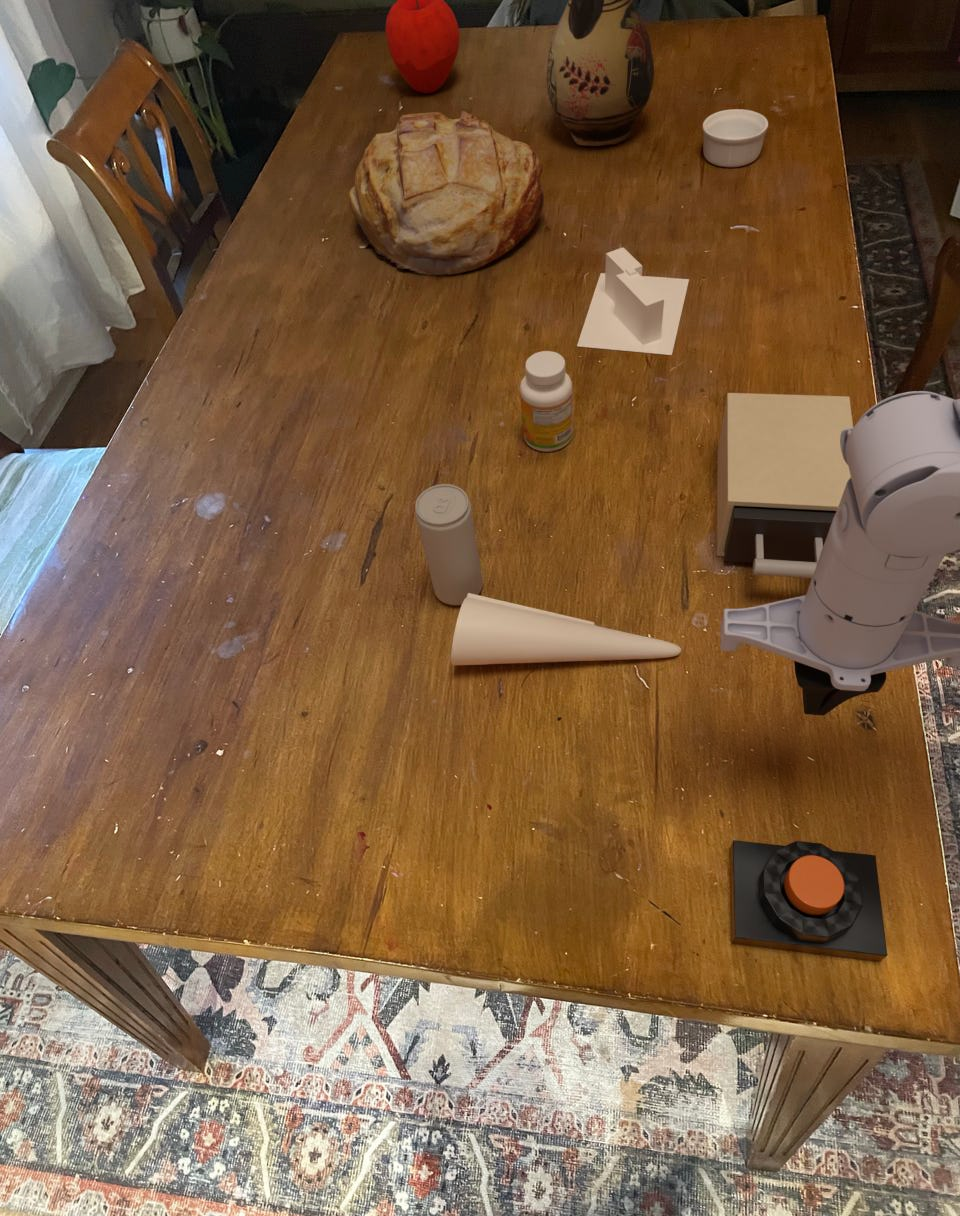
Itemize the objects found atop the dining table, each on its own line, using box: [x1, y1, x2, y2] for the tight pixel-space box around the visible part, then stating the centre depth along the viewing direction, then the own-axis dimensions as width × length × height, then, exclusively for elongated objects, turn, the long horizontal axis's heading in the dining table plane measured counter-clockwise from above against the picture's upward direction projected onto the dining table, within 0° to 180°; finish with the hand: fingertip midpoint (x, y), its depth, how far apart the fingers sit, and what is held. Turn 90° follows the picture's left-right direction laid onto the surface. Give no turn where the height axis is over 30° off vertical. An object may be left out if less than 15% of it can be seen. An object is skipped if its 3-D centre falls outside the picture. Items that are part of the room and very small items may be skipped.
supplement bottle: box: [519, 350, 574, 453], centre depth 88 cm, size 5×5×10 cm
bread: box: [348, 108, 545, 276], centre depth 113 cm, size 25×27×15 cm
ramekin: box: [702, 108, 769, 168], centre depth 120 cm, size 9×9×4 cm
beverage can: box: [414, 483, 484, 606], centre depth 76 cm, size 5×5×12 cm
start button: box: [784, 855, 844, 915], centre depth 58 cm, size 4×4×2 cm
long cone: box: [450, 593, 682, 666], centre depth 74 cm, size 6×6×19 cm
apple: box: [384, 0, 461, 94], centre depth 139 cm, size 12×12×13 cm
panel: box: [729, 839, 888, 963], centre depth 60 cm, size 10×7×4 cm
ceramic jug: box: [546, 0, 655, 147], centre depth 117 cm, size 17×15×30 cm
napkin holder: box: [576, 247, 690, 356], centre depth 101 cm, size 15×11×6 cm
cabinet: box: [716, 392, 854, 557], centre depth 80 cm, size 14×11×8 cm
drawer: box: [723, 506, 837, 579], centre depth 78 cm, size 18×10×6 cm, turn 171°
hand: (813, 702), depth 59 cm, fingers closed
